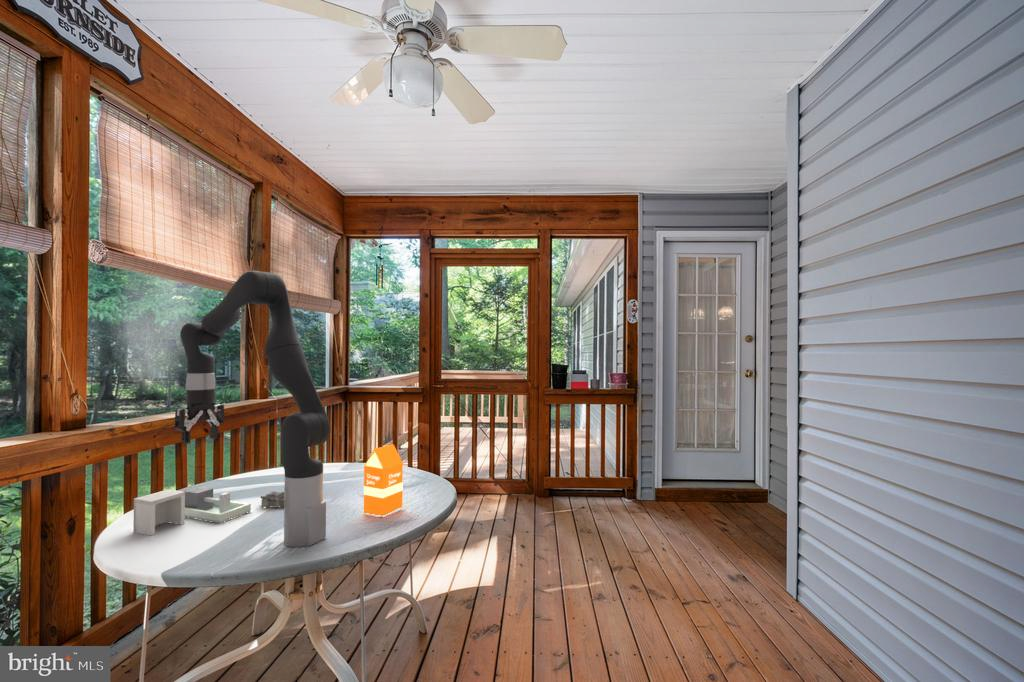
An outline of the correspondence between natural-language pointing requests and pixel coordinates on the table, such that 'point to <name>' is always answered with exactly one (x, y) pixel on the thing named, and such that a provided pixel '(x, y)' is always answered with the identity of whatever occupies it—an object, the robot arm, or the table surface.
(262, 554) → the table surface
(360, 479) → the table surface
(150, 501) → the bay
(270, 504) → the egg carton
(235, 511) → the tray
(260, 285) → the robot arm
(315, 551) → the table surface
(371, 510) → the orange juice
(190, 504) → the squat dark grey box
